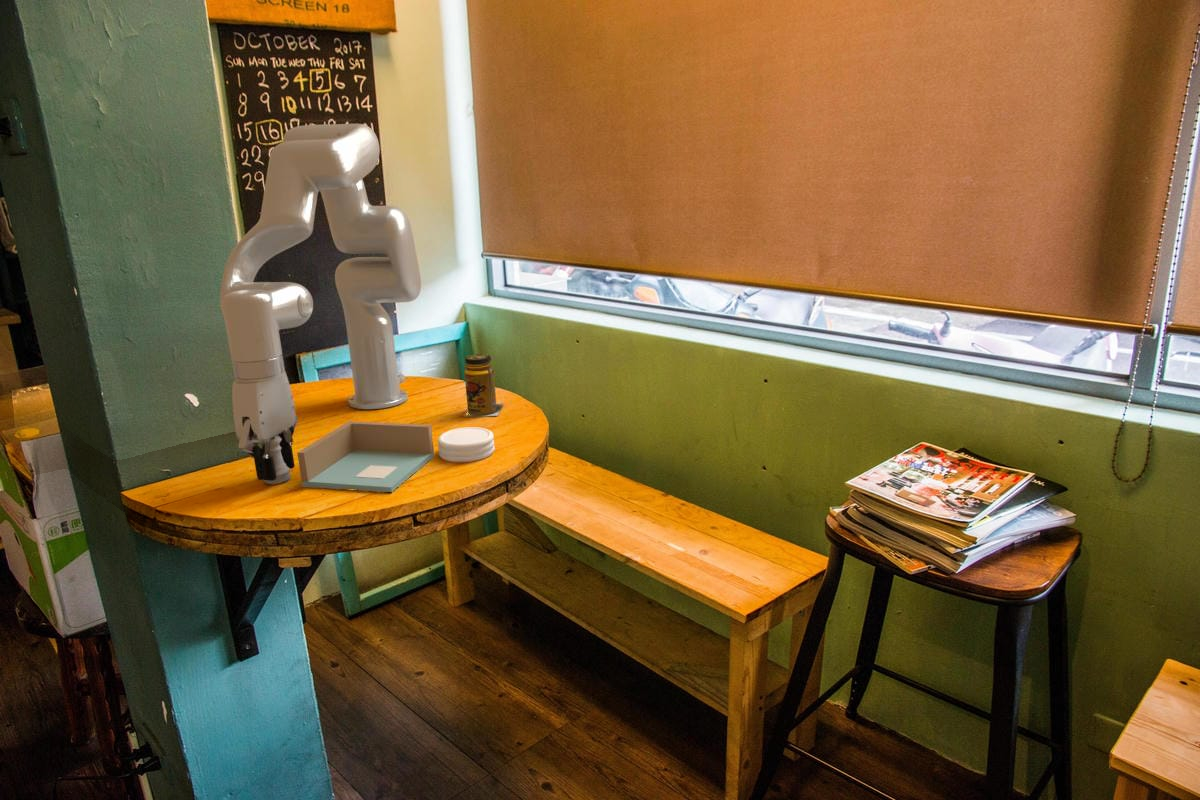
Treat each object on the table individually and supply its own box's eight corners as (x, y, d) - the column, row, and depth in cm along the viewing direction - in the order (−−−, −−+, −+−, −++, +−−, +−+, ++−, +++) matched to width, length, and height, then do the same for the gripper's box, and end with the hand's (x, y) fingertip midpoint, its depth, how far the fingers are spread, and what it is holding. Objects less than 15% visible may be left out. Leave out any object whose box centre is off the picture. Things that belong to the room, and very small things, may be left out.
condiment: (462, 417, 160) (457, 360, 156) (471, 405, 168) (466, 350, 164) (497, 416, 160) (493, 360, 156) (504, 404, 168) (500, 350, 164)
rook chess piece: (294, 473, 133) (287, 429, 130) (288, 483, 128) (281, 438, 126) (266, 476, 132) (259, 431, 130) (260, 486, 128) (252, 440, 125)
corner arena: (353, 452, 142) (349, 421, 140) (434, 456, 138) (431, 424, 137) (302, 486, 127) (297, 452, 125) (391, 493, 124) (387, 457, 122)
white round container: (442, 445, 145) (440, 427, 144) (496, 442, 145) (495, 424, 144) (435, 465, 135) (433, 446, 134) (493, 462, 136) (491, 443, 135)
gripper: (270, 354, 133) (286, 454, 139) (202, 381, 118) (223, 492, 123) (309, 355, 132) (324, 456, 137) (245, 382, 116) (264, 495, 121)
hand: (276, 472), depth 130 cm, fingers closed on rook chess piece, 4 cm apart
